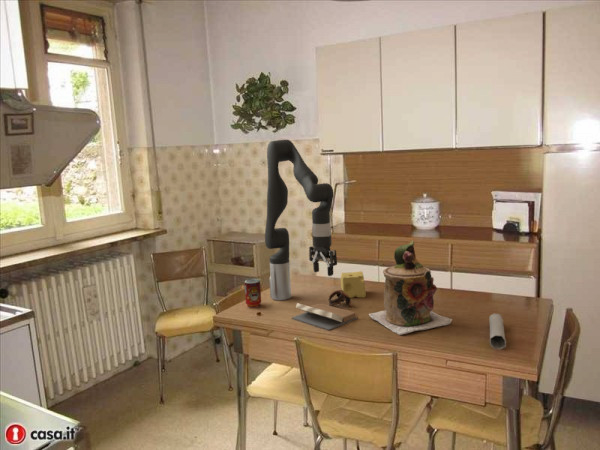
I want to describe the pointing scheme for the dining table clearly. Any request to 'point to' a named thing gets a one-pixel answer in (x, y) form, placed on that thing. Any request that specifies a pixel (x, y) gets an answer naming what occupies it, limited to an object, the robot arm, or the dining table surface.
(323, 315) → the plank
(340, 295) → the pottery mug
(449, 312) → the dining table surface
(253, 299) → the soda can
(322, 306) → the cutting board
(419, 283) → the cookie jar
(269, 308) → the dining table surface
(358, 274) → the cheese
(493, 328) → the tube
